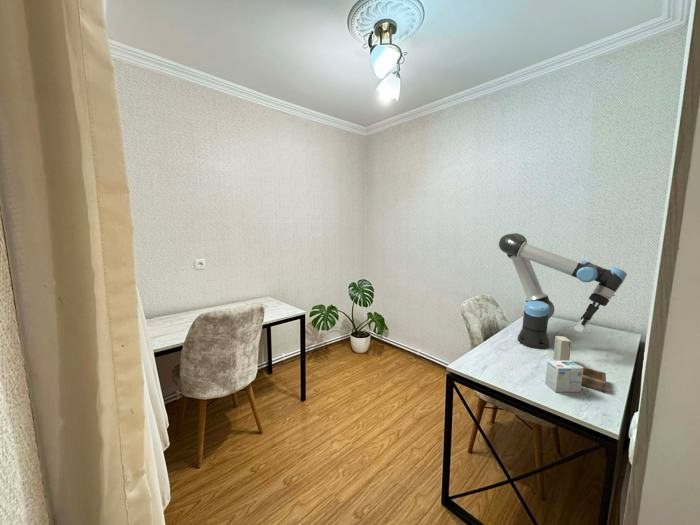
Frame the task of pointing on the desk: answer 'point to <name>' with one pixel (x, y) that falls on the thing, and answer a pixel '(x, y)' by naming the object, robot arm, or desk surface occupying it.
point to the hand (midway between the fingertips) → (577, 330)
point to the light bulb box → (564, 376)
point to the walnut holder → (594, 379)
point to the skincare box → (562, 348)
